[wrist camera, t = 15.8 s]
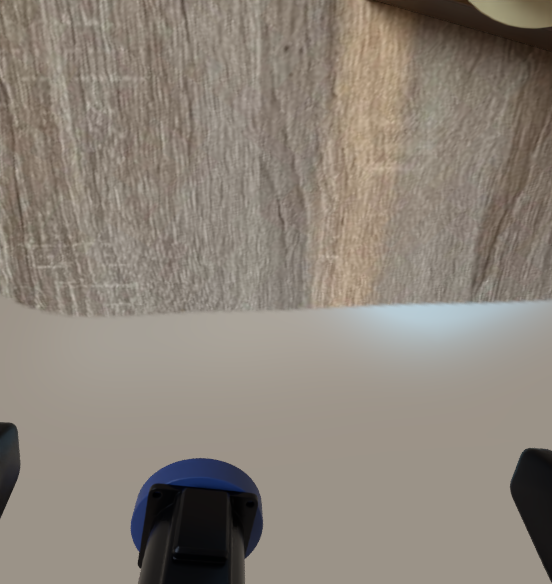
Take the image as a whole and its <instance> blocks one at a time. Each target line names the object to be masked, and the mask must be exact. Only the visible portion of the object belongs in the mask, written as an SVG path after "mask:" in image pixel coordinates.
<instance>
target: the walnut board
mask: <svg viewBox="0 0 552 584" xmlns="http://www.w3.org/2000/svg"><path fill="white" fill-rule="evenodd" d="M375 1H379V2H382V3H386V4H389V5H393V6H396V7H400V8H403V9H407V10H410V11H414V12H417V13H420V14H424V15H427V16H431V17H434V18H438V19H441V20H445V21H448V22H452V23H455V24H459V25H462V26H466V27H469V28H472V29H476V30H479V31H483V32H486V33H490V34H493V35H497V36H500V37H504V38H507V39H511V40H514V41H518V42H521V43H525V44H528V45H531V46H535V47H538V48H542V49H545V50H549V51H552V0H375Z"/></svg>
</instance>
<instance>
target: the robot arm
mask: <svg viewBox="0 0 552 584" xmlns="http://www.w3.org/2000/svg"><path fill="white" fill-rule="evenodd" d="M19 471H20V453H19V441H18V431H17V428H16V426H15V425H14V424H12V423H4V422H0V518H1V516H2V514H3V511H4V509H5V507H6V504H7V502H8V500H9V497H10V495H11V493H12V490H13V488H14V486H15V483H16V481H17V479H18V475H19ZM510 490H511V494H512V497H513V500H514V502H515V504H516V506H517V509H518V511H519V513H520V515H521V517H522V520H523V522H524V524H525V526H526V528H527V531H528V533H529V535H530V537H531V539H532V542H533V544H534V546H535V548H536V550H537V553H538V555H539V557H540V559H541V561H542V564H543V566H544V568H545V570H546V572H547V574H548V576H549V578H550V580H551V582H552V451H551V450H548V449H537V448H528V449H525V450H524V451H523V452H522V454H521V456H520V458H519V461H518V464H517V466H516V470H515V472H514V474H513V477H512V479H511V484H510ZM155 492H160V493H155ZM248 501H252V502H250V503H249V502H248ZM257 508H258V497H257V495H256V494H254V493H248V492H238V491H229V490H219V489H209V488H200V487H190V486H180V485H171V484H161V483H156V484H153V485H152V486H151V487H150V489H149V493H148V499H147V506H146V513H145V519H144V526H143V532H142V539H141V546H140V552H139V559H138V566H139V568H141V572H140V577H139V581H138V584H245V566H244V565H245V564H244V559H245V555H246V551H247V547H248V543H249V539H250V535H251V531H252V528H253V524H254V520H255V516H256V512H257Z"/></svg>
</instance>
